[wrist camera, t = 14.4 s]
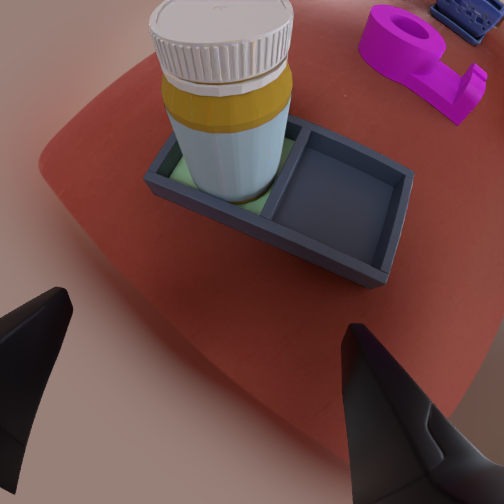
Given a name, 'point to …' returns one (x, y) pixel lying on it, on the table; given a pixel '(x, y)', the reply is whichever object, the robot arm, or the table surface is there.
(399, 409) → the robot arm
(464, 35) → the flower pot
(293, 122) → the blue-grey divided tray
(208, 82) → the bottle
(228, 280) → the table surface
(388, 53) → the tape dispenser
